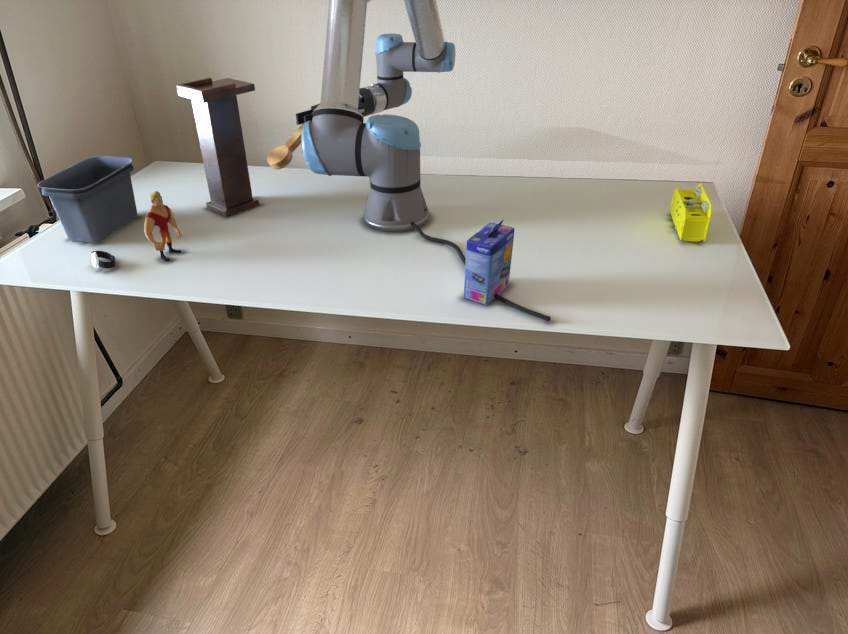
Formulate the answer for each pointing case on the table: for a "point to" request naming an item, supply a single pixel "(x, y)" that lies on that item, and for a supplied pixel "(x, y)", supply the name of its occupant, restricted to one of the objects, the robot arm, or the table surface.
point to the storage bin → (93, 197)
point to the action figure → (160, 224)
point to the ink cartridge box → (488, 262)
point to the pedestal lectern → (221, 142)
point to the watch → (102, 264)
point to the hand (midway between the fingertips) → (301, 120)
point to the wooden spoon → (285, 151)
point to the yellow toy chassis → (691, 213)
